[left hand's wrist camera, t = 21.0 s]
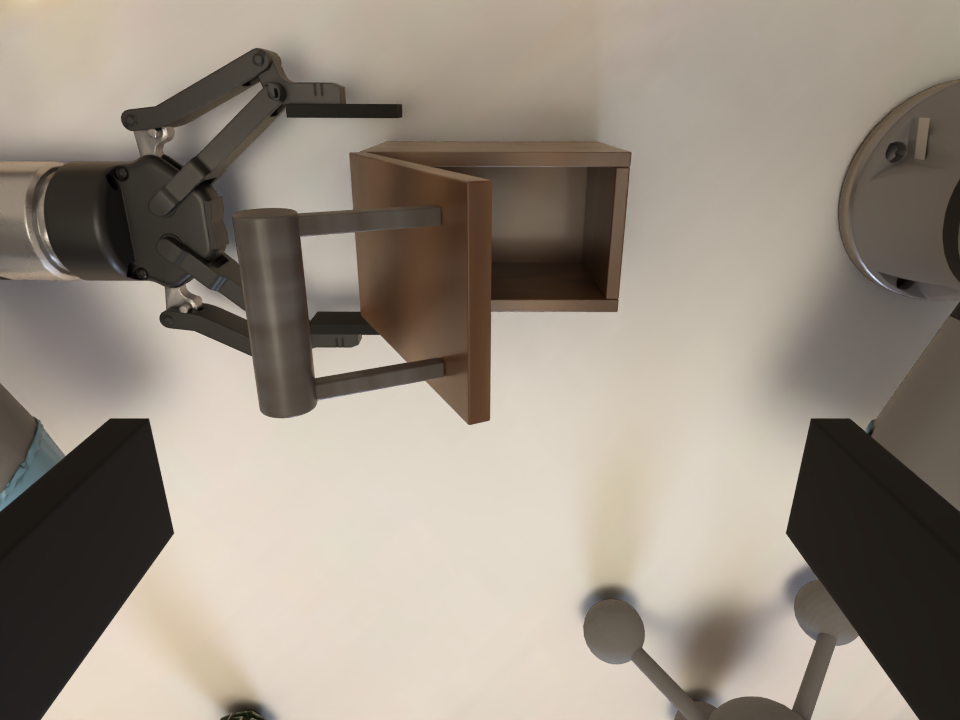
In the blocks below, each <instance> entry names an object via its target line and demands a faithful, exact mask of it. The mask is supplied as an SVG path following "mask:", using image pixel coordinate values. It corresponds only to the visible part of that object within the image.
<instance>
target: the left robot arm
mask: <svg viewBox="0 0 960 720" xmlns="http://www.w3.org/2000/svg"><path fill="white" fill-rule="evenodd" d="M839 226H840V232H841V237H842V240H843V244H844V246H845V249H846V251H847V253H848V255H849V257H850V258H851V260H852V262H853V263H854V264H855V266H856V267H857V268H858V269H859V270H860V271H861V272H862V273H863V274H864V275H865V276H866V277H867V278H869V279H870V280H871V281H873V282H875V283H876V284H878V285H880V286H882V287H884V288H886V289H889V290H891V291H893V292H895V293H897V294H900V295H903V296H906V297H910V298H915V299H922V300H960V80H954V81H950V82H946V83H942V84H939V85H937V86H934V87H931V88H929V89H927V90H925V91H923V92H921V93H918V94H917V95H915V96H913V97H912V98H910V99H908V100H907V101H905V102H904V103H902V104H901V105H900V106H898V107H897V108H896V109H894V110H893V111H892V112H891V113H890V114H888V115H887V116H886V117H885V118H884V119H883V120H882V121H881V122H880V123H879V124H878V125H877V126H876V127H875V129H874V130H873V131H872V132H871V133H870V134H869V136H868V137H867V138H866V140H865V141H864V142H863V144H862V145H861V147H860V149H859V150H858V152H857V153H856V155H855V157H854V159H853V161H852V163H851V165H850V167H849V170H848V172H847V175H846V178H845V181H844V184H843V188H842V192H841V197H840V204H839ZM950 315H951V316H950ZM950 315H949V317H948V318H947V320H946V321H945V322H944V324H943V325H942V327H941V328H940V329H939V331H938V332H937V334H936V335H935V337H934V338H933V339H932V341H931V342H930V344H929V345H928V346H927V348H926V349H925V351H924V352H923V353H922V355H921V356H920V358H919V359H918V361H917V362H916V363H915V365H914V366H913V368H912V369H911V370H910V372H909V373H908V375H907V376H906V378H905V379H904V380H903V382H902V383H901V385H900V386H899V387H898V389H897V390H896V392H895V393H894V394H893V396H892V397H891V399H890V400H889V402H888V403H887V404H886V406H885V407H884V409H883V410H882V411H881V413H880V414H879V416H878V417H877V418H876V419H875V420H872V421H871V422H870V423H869V425H868V426H867V427H866V430H865V431H864V430H863V429H862V428H860V427H859V426H858V425H857V424H856V423H854V422H853V421H852V420H851V419H811V421H810V426H809V430H808V435H807V440H806V444H805V449H804V453H803V458H802V462H801V467H800V472H799V476H798V481H797V485H796V490H795V494H794V499H793V504H792V508H791V513H790V517H789V522H788V526H787V531H786V534H787V535H788V537H789V538H790V540H791V541H792V542H793V544H794V545H795V547H796V548H797V549H798V551H799V552H800V554H801V555H802V556H803V558H804V559H805V561H806V562H807V563H808V565H809V566H810V568H811V569H812V570H813V572H814V573H815V575H816V576H817V577H818V579H819V580H820V582H821V583H822V584H823V586H824V587H825V589H826V590H827V591H828V593H829V594H830V596H831V597H832V598H833V600H834V601H835V603H836V604H837V605H838V607H839V608H840V610H841V611H842V612H843V614H844V615H845V617H846V618H847V619H848V621H849V622H850V624H851V625H852V626H853V628H854V629H855V630H856V632H857V633H858V635H859V636H860V637H861V639H862V640H863V642H864V643H865V644H866V646H867V647H868V649H869V650H870V651H871V653H872V654H873V656H874V657H875V658H876V660H877V661H878V663H879V664H880V665H881V667H882V668H883V670H884V671H885V672H886V674H887V675H888V677H889V678H890V679H891V681H892V682H893V684H894V685H895V686H896V688H897V689H898V691H899V692H900V693H901V695H902V696H903V698H904V699H905V700H906V702H907V703H908V705H909V706H910V707H911V709H912V710H913V712H914V713H915V714H916V716H917V717H918V719H919V720H960V302H959V303H958V305H957V306H956V308H955V309H954V311H953V312H952V313H951V314H950ZM173 534H174V531H173V526H172V522H171V517H170V513H169V508H168V504H167V499H166V494H165V490H164V485H163V481H162V476H161V472H160V467H159V462H158V458H157V453H156V449H155V444H154V440H153V435H152V430H151V426H150V421H149V419H109V420H108V421H107V422H106V423H104V424H103V425H102V426H101V427H100V428H98V429H97V430H96V431H95V432H94V433H93V434H91V435H90V436H89V437H88V438H87V439H85V440H84V441H83V442H82V443H81V444H80V445H78V446H77V447H76V448H75V449H74V450H72V451H71V452H70V453H69V454H68V455H67V456H65V457H64V458H63V459H62V460H61V461H59V462H58V463H57V464H56V465H55V466H54V467H52V468H51V469H50V470H49V471H48V472H46V473H45V474H44V475H43V476H42V477H41V478H39V479H38V480H37V481H36V482H35V483H33V484H32V485H31V486H30V487H29V488H28V489H26V490H25V491H24V492H23V493H22V494H20V495H19V496H18V497H17V498H16V499H15V500H13V501H12V502H11V503H10V504H9V505H7V506H6V507H5V508H4V509H3V510H2V511H0V720H41V719H42V717H43V716H44V714H45V713H46V712H47V710H48V709H49V707H50V706H51V705H52V703H53V702H54V700H55V699H56V698H57V696H58V695H59V693H60V692H61V691H62V689H63V688H64V686H65V685H66V684H67V682H68V681H69V679H70V678H71V677H72V675H73V674H74V672H75V671H76V670H77V668H78V667H79V665H80V664H81V663H82V661H83V660H84V658H85V657H86V656H87V654H88V653H89V651H90V650H91V649H92V647H93V646H94V644H95V643H96V642H97V640H98V639H99V637H100V636H101V635H102V633H103V632H104V630H105V629H106V628H107V626H108V625H109V624H110V622H111V621H112V619H113V618H114V617H115V615H116V614H117V612H118V611H119V610H120V608H121V607H122V605H123V604H124V603H125V601H126V600H127V598H128V597H129V596H130V594H131V593H132V591H133V590H134V589H135V587H136V586H137V584H138V583H139V582H140V580H141V579H142V577H143V576H144V575H145V573H146V572H147V570H148V569H149V568H150V566H151V565H152V563H153V562H154V561H155V559H156V558H157V556H158V555H159V554H160V552H161V551H162V549H163V548H164V547H165V545H166V544H167V542H168V541H169V540H170V538H171V537H172V535H173Z"/></svg>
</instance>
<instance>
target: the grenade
mask: <svg viewBox="0 0 960 720" xmlns="http://www.w3.org/2000/svg"><path fill="white" fill-rule="evenodd" d="M220 720H266V719H265V718H264V717H263V716H262V715H261V714H258V713H256V712H254V711H245V712H237V713H235V714H234V715H232V713H230V714H228V715H226V716H224V717H222V718H221V719H220Z"/></svg>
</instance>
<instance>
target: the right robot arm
mask: <svg viewBox="0 0 960 720" xmlns="http://www.w3.org/2000/svg"><path fill="white" fill-rule="evenodd" d="M259 82H261V84H262V87H263V89H262V90H261V91H260V92H259V93H258V94H257V95H256V96H255V97H254V98H253V99H252V100H251V101H250V102H249V103H248V104H247V105H246V106H245V107H244V108H243V109H242V110H241V111H240V112H239V113H238V114H237V115H236V116H235V117H234V118H233V119H232V120H231V121H230V122H229V123H228V125H227V126H226V127H225V128H224V129H223V130H222V131H221V132H220V133H219V134H218V135H217V136H216V137H215V138H214V139H213V140H212V141H211V142H210V143H209V144H208V145H207V146H206V147H205V148H204V149H203V150H202V151H201V152H200V153H199V154H198V155H197V156H196V157H194V158H193V159H191V160H190V161H189V162H188V163H187V164H186V165H185V166H182V165H181V164H179V163H178V162H176V161H175V160H173V159H172V158H170V157H169V156H167V155H164V154H163V146H164V144H165V143H167V142H169V141H171V140H172V139H173V137H174V129H173V127H178V126H181V125H184V124H187V123H189V122H191V121H193V120H194V119H196V118H198V117H200V116H201V115H203V114H205V113H207V112H208V111H210V110H212V109H214V108H215V107H217V106H219V105H221V104H222V103H224V102H226V101H227V100H229V99H231V98H233V97H234V96H236V95H238V94H240V93H241V92H243V91H245V90H247V89H248V88H250V87H252V86H254V85H255V84H257V83H259ZM285 109H286V113H287V117H291V118H400V117H402V104H346V99H345V87H343V86H341V85H338V84H335V83H294V82H292V81H290V80H289V79H288V78H287V77H286V75H285V73H284V71H283V68H282V66H281V59H280V57H279V56H278V54H276V53H275V52H272V51H268V50H264V49H260V48H255V49H253V50H251V51H249V52H247V53H246V54H244V55H242V56H241V57H239V58H237V59H236V60H234V61H232V62H230V63H229V64H227V65H225V66H224V67H222V68H220V69H218V70H217V71H215V72H213V73H212V74H210V75H208V76H207V77H205V78H203V79H201V80H200V81H198V82H196V83H195V84H193V85H191V86H190V87H188V88H186V89H184V90H183V91H181V92H179V93H178V94H176V95H174V96H172V97H171V98H169V99H167V100H166V101H164V102H162V103H161V104H159V105H157V106H155V107H146V108H138V109H130V110H126V111H124V112H123V113H122V116H121V121H122V123H123V126H124V127H125V128H126V129H128V130H130V131H134V135H135V138H136V141H137V145H138V148H139V151H140V155H141V157H140V158H138V159H137V160H135V161H133V162H69V163H66V164H64V163H61V162H51V161H0V279H2V280H64V281H73V280H77V279H80V278H81V279H84V280H95V281H153V282H156V283H158V284H161V285H162V286H164V287H165V295H166V310H165V311H164V312H162V313H161V315H160V318H159V319H160V322H161V323H162V325H163V326H165V327H167V328H173V329H182V330H191V331H196V332H198V333H200V334H203V335H205V336H207V337H209V338H212V339H214V340H216V341H219V342H221V343H223V344H225V345H228V346H230V347H232V348H234V349H237V350H239V351H241V352H244V353H246V354H248V355H250V356H252V351H251V344H250V337H249V330H248V323H247V320H246V319H244V318H241V317H239V316H237V315H235V314H233V313H230V312H228V311H226V310H224V309H221V308H219V307H216V306H214V305H210V304H206V303H202V298H201V297H200V296H197V295H194V294H192V293H190V292H189V291H188V290H187V288H186V283H188V282H190V281H191V280H192V279H193V278H195V279H196V280H198V281H199V282H200V283H202V284H203V285H204V286H206V287H207V288H209V289H211V290H215V291H218V292H220V293H221V294H223V295H224V296H225V297H227V298H228V299H229V300H231V301H232V302H234V303H235V304H236V305H238V306H239V307H240V308H242V309H243V310H244V311H246V309H245V302H244V295H243V288H242V281H241V274H240V267H239V264H238V263H237V262H236V261H235V260H233V259H232V258H231V257H229V256H228V255H227V254H225V253H224V251H225V248H226V245H227V244H229V241H228V234H227V230H226V228H225V226H224V223H223V220H222V218H223V210H224V207H223V200H222V196H218V194H217V192H216V190H215V189H214V188H213V187H212V186H211V185H212V184H213V183H214V182H215V181H216V180H217V179H218V178H219V177H220V176H221V175H222V174H223V173H224V172H225V171H226V169H227V167H228V166H229V165H230V164H231V163H232V162H233V161H234V160H235V159H236V158H237V157H238V156H239V155H240V154H241V153H242V152H243V151H244V150H245V149H246V148H247V147H248V146H249V145H250V144H251V143H252V142H253V141H254V140H255V139H256V138H257V137H258V136H259V135H260V134H261V133H262V132H263V131H264V130H265V129H266V128H267V127H268V126H269V125H270V124H271V123H272V122H273V121H274V120H275V119H276V118H277V117H278V116H279V115H280V114H281V113H282V112H283V111H284V110H285ZM309 327H310V336H311V346H312V348H316V347H354V346H356V345H359V343H360V341H361V339H362V335H380V334H379V333H378V332H377V331H376V330H375V329H374V328H373V327H372V326H371V325H370V324H369V323H368V322H367V321H366V320H365V319H364V318H363V317H362V316H361V312H317V313H316V314H315V316H314V317H313V318H312V320H311V321H310V320H309ZM64 457H65V455H64V454H63V452H62V451H61V450H60V449H59V447H58V446H57V445H56V443H55V442H54V441H53V440H52V438H51V437H50V436H49V435H48V433H47V432H46V431H45V429H44V428H43V425H42V424H41V421H40V420H38V419H37V418H35V417H32V416H31V415H30V414H29V413H28V412H27V411H26V410H25V408H24V407H23V406H22V405H21V404H20V403H19V402H18V401H17V400H16V399H15V398H14V397H13V396H12V395H11V394H10V393H9V392H8V391H7V390H6V389H5V388H4V387H3V386H2V385H1V384H0V511H2V510H3V509H4V508H5V507H6V506H7V505H9V504H10V503H11V502H12V501H13V500H15V499H16V498H17V497H18V496H19V495H20V494H22V493H23V492H24V491H25V490H26V489H28V488H29V487H30V486H31V485H32V484H33V483H35V482H36V481H37V480H38V479H39V478H41V477H42V476H43V475H44V474H45V473H46V472H48V471H49V470H50V469H51V468H52V467H54V466H55V465H56V464H57V463H58V462H59V461H61V460H62V459H63V458H64Z"/></svg>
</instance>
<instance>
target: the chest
mask: <svg viewBox="0 0 960 720" xmlns="http://www.w3.org/2000/svg"><path fill="white" fill-rule="evenodd" d="M361 152H367V153H371V154H376V155H380V156H385V157H389V158H394V159H398V160H403V161H407V162H412V163H416V164H421V165H425V166H430V167H434V168H439V169H443V170H447V171H452V172H456V173H461V174H465V175H470V176H474V177H479V178H483V179H488V180H491V181H492V246H491V312H617V311H618V298H619V288H620V276H621V264H622V253H623V241H624V230H625V218H626V207H627V195H628V184H629V172H630V168H629V167H630V162H631V152H629V151H626V150H622V149H619V148H616V147H612V146H609V145H606V144H603V143H599V142H384V143H381V144H379V145H376V146H374V147H371V148H368V149H366V150H363V151H361Z"/></svg>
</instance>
